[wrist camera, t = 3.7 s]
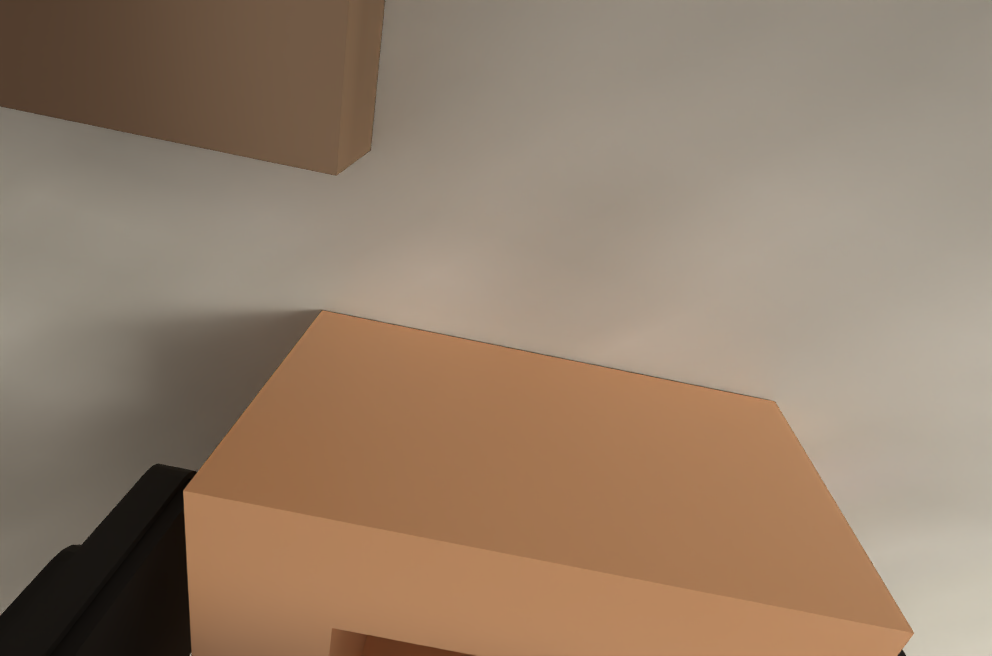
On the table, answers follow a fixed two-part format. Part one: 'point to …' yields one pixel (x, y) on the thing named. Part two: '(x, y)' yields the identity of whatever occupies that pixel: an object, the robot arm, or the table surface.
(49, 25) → the post stand
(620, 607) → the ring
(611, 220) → the table surface
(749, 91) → the table surface
